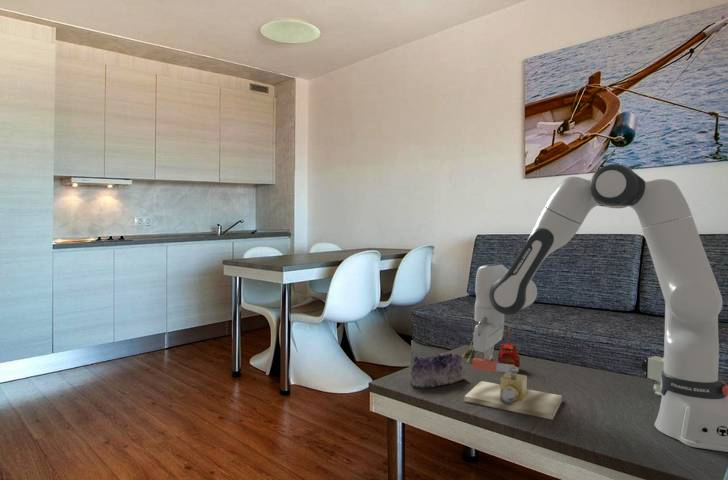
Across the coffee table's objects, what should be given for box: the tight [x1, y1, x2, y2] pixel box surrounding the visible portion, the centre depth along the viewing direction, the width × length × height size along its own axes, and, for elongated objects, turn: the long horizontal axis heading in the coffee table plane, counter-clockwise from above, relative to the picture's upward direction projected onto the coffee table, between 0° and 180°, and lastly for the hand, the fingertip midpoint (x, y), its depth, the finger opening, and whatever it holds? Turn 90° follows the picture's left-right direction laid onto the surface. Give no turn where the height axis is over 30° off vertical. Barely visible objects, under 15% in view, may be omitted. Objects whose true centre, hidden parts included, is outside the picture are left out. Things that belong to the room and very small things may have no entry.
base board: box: [463, 380, 563, 421], centre depth 135 cm, size 24×16×2 cm, turn 59°
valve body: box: [499, 372, 528, 405], centre depth 135 cm, size 6×16×6 cm, turn 149°
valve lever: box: [471, 357, 520, 377], centre depth 138 cm, size 13×3×3 cm, turn 59°
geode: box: [410, 353, 466, 389], centre depth 152 cm, size 20×12×10 cm, turn 128°
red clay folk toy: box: [497, 325, 521, 369], centre depth 166 cm, size 8×7×15 cm
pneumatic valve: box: [640, 355, 664, 397], centre depth 141 cm, size 6×12×12 cm, turn 32°
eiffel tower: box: [460, 321, 494, 364], centre depth 178 cm, size 11×11×25 cm
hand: (488, 359), depth 144 cm, fingers closed
